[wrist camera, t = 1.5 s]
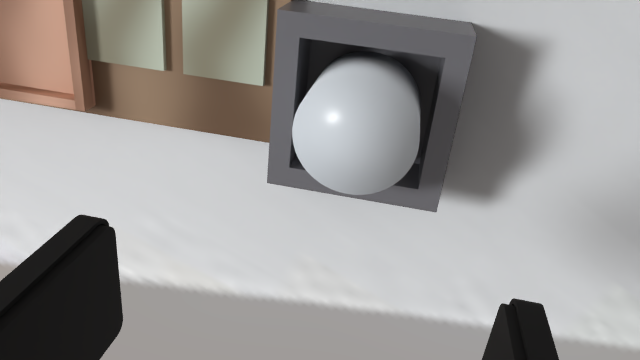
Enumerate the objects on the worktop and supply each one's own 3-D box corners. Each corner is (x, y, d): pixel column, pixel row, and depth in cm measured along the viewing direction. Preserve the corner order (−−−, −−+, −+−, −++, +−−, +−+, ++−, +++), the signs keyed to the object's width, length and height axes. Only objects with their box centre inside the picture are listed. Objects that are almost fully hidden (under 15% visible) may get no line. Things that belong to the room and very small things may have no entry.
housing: (471, 22, 23) (477, 36, 21) (435, 183, 27) (436, 212, 24) (293, -1, 24) (277, 9, 22) (282, 157, 28) (267, 182, 25)
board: (299, -74, 23) (290, -73, 22) (283, 140, 28) (275, 152, 26) (-94, -119, 25) (-126, -121, 24) (-49, 85, 30) (-72, 94, 28)
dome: (430, 59, 23) (431, 85, 19) (410, 164, 25) (407, 204, 22) (316, 43, 24) (297, 66, 20) (307, 147, 26) (287, 183, 22)
